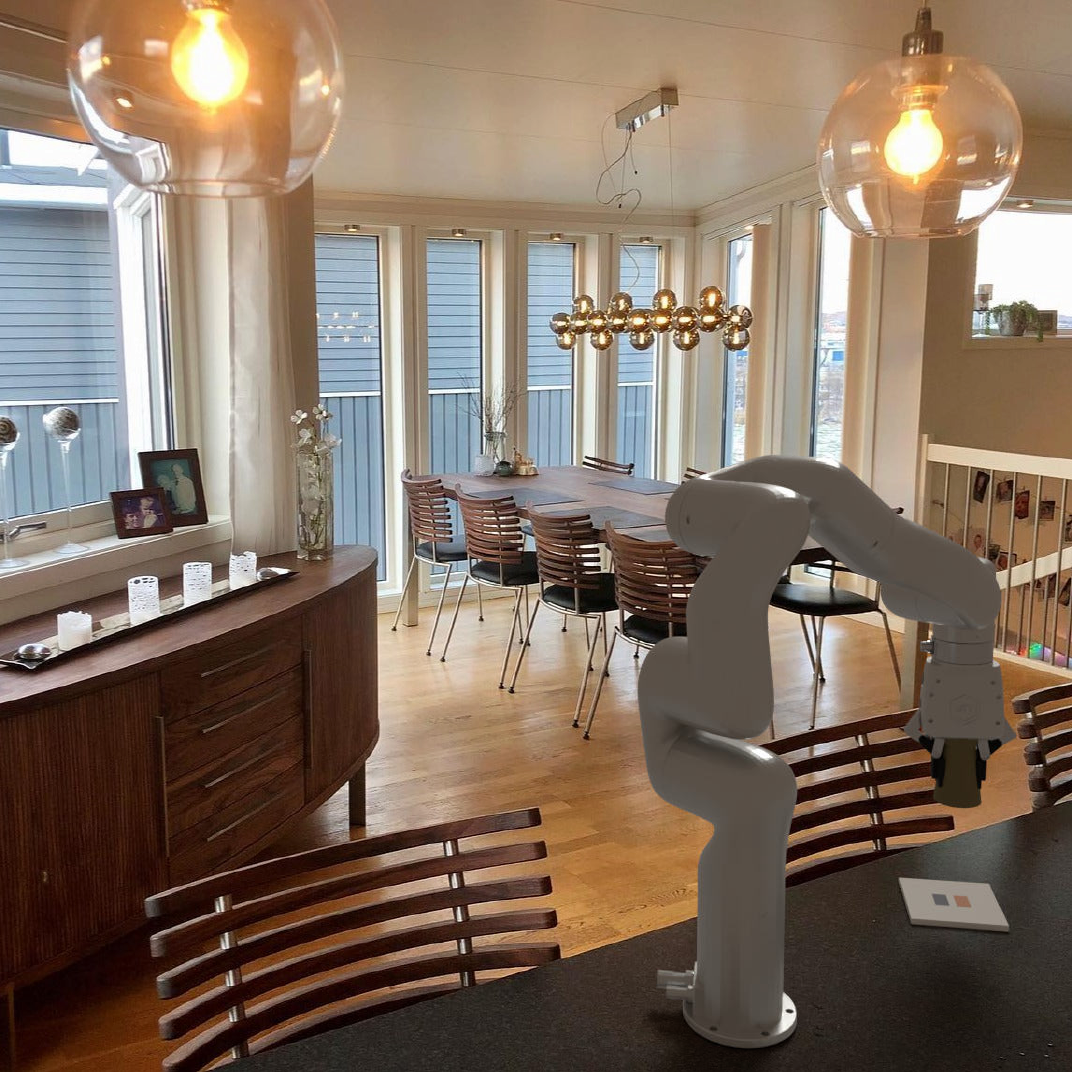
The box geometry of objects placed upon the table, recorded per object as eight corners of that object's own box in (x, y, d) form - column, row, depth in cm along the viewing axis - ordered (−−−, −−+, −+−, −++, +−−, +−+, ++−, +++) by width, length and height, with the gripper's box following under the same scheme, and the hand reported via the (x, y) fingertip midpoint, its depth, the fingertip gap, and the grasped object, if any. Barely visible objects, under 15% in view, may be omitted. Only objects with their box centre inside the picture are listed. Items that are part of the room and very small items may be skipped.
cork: (988, 808, 141) (992, 727, 140) (942, 808, 142) (944, 727, 140) (971, 790, 147) (974, 712, 146) (926, 791, 148) (929, 713, 146)
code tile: (911, 924, 142) (911, 918, 142) (898, 882, 153) (898, 877, 153) (1008, 931, 139) (1009, 925, 139) (988, 889, 151) (988, 883, 151)
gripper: (899, 656, 139) (895, 792, 142) (1038, 660, 136) (1032, 798, 139) (891, 642, 147) (888, 771, 149) (1023, 645, 144) (1017, 777, 146)
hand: (957, 783), depth 144 cm, fingers closed on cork, 4 cm apart
